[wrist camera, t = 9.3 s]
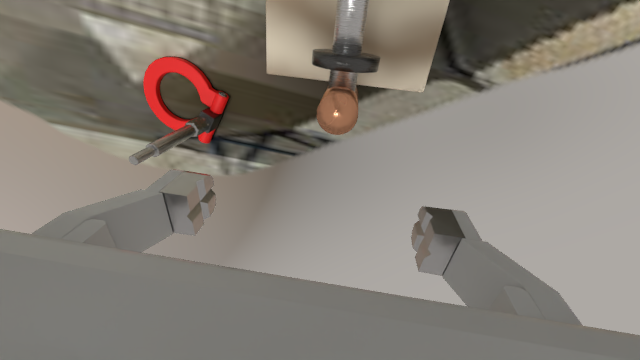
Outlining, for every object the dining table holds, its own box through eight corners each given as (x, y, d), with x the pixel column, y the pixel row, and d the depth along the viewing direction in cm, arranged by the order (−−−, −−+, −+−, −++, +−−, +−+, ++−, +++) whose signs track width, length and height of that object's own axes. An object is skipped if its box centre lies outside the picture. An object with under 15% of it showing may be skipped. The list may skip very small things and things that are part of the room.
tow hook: (143, 105, 32) (210, 146, 34) (25, 141, 21) (132, 201, 23) (159, 39, 28) (235, 89, 30) (24, 43, 17) (154, 123, 19)
